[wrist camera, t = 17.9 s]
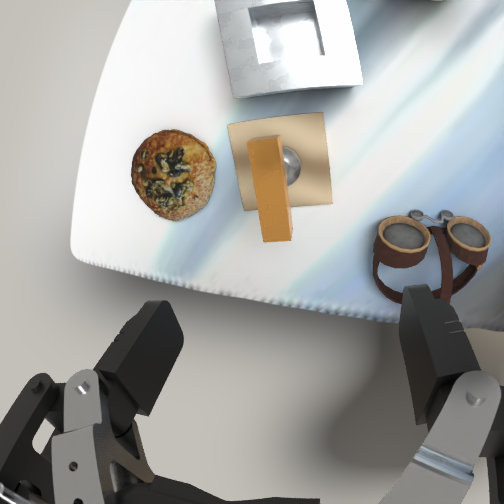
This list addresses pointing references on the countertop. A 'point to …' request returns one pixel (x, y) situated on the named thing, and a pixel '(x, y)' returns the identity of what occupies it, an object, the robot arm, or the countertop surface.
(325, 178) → the cork coaster
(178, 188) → the bread roll
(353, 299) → the countertop surface
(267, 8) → the block
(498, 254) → the countertop surface
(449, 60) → the countertop surface
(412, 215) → the goggles
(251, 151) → the bar
